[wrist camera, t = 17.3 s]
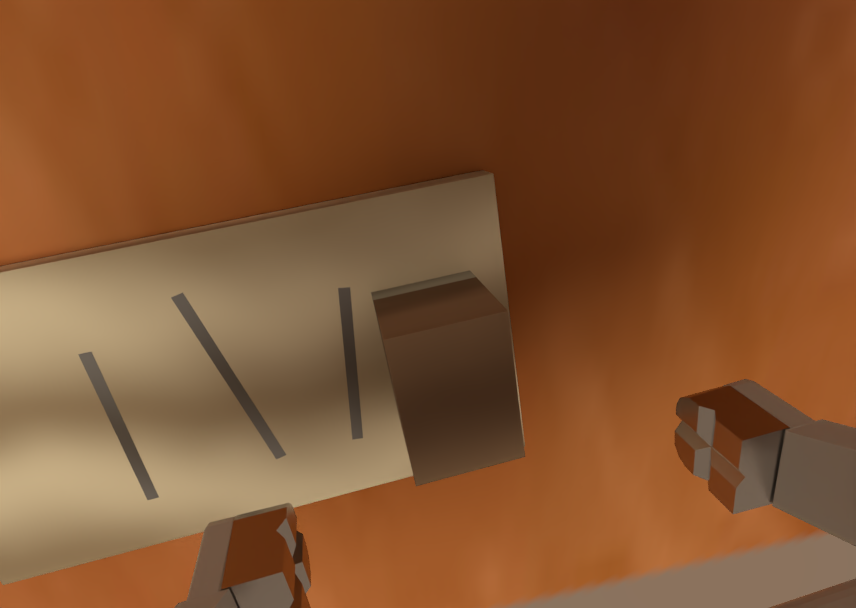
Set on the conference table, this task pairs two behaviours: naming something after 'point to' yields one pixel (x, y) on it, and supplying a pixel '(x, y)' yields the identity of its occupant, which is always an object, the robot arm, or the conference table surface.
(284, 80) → the conference table surface
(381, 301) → the block
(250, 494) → the board
